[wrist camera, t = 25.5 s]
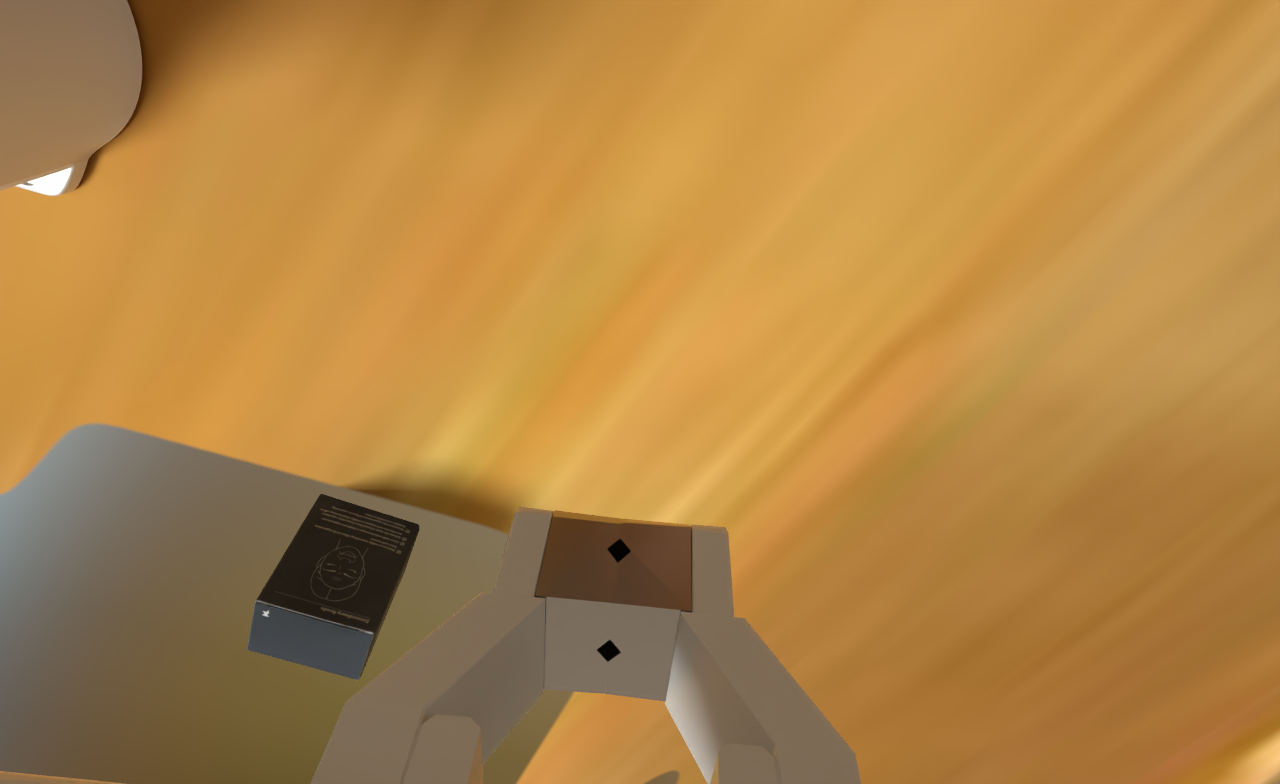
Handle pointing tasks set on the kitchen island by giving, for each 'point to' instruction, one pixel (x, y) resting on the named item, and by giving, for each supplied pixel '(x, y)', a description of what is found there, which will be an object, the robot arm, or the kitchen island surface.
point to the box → (333, 588)
